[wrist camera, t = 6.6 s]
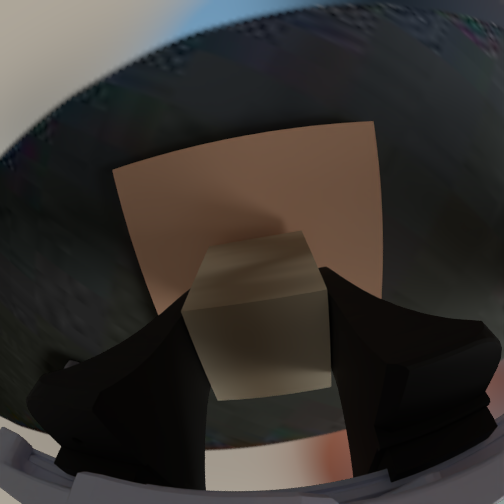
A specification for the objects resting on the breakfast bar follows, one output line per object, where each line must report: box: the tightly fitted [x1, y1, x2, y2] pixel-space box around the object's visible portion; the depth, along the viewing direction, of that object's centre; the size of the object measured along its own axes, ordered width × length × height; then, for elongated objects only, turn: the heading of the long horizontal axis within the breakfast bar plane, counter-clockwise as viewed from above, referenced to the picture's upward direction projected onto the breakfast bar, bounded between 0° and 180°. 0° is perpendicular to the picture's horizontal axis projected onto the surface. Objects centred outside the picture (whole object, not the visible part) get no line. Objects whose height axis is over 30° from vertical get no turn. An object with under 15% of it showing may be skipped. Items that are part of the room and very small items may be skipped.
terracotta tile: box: [112, 121, 383, 315], centre depth 14 cm, size 12×12×2 cm
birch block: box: [181, 231, 331, 401], centre depth 10 cm, size 4×4×5 cm
